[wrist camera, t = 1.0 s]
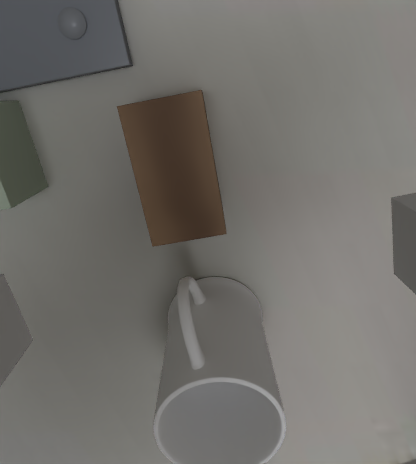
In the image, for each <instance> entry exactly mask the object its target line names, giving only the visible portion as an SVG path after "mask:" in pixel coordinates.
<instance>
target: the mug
mask: <svg viewBox="0 0 416 464" xmlns="http://www.w3.org/2000/svg"><path fill="white" fill-rule="evenodd" d="M262 322H263V315H262V309H261V306H260V303H259V301H258V299H257V297H256V296H255V295H254V293H253V292H252V291H251V290H250V289H249V288H247V287H246V286H245V285H243V284H241V283H240V282H238V281H235V280H232V279H229V278H224V277H207V278H202V279H199V280H196V281H195V279H194V278H192V277H190V276H187V277H184V278H182V279H181V280H180V281H179V283H178V287H177V294H176V296H175V297H174V299H173V300H172V302H171V304H170V307H169V311H168V334H167V341H166V347H165V353H164V360H163V366H162V373H161V379H160V385H159V392H158V398H157V404H156V411H155V417H154V427H153V428H154V437H155V440H156V443H157V445H158V447H159V449H160V450H161V452H162V453H163V454H164V455H165V456H166V458H167V459H169V460H170V461H171V462H172V463H174V464H264V463H266V462H267V461H268V460H270V459H271V458H272V457H273V456H274V455H275V454H276V452H277V451H278V450H279V448H280V447H281V445H282V443H283V440H284V437H285V433H286V418H285V414H284V409H283V405H282V401H281V397H280V393H279V389H278V385H277V381H276V377H275V373H274V369H273V365H272V361H271V357H270V353H269V349H268V345H267V341H266V337H265V333H264V329H263V324H262Z"/></svg>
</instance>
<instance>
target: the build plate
mask: <svg viewBox="0 0 416 464" xmlns="http://www.w3.org/2000/svg"><path fill="white" fill-rule="evenodd" d="M129 66H133V65H132V60H131V56H130V52H129V47H128V43H127V39H126V35H125V30H124V26H123V22H122V17H121V13H120V9H119V5H118V0H0V93H1V92H6V91H11V90H16V89H21V88H26V87H31V86H36V85H41V84H46V83H50V82H55V81H60V80H65V79H70V78H75V77H80V76H85V75H90V74H95V73H100V72H105V71H110V70H114V69H119V68H124V67H129Z"/></svg>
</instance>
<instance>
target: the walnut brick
mask: <svg viewBox="0 0 416 464" xmlns="http://www.w3.org/2000/svg"><path fill="white" fill-rule="evenodd" d="M117 108H118V112H119V116H120V120H121V124H122V128H123V132H124V136H125V140H126V144H127V148H128V152H129V156H130V160H131V164H132V167H133V171H134V175H135V179H136V183H137V187H138V191H139V195H140V199H141V203H142V207H143V211H144V215H145V219H146V223H147V227H148V230H149V234H150V238H151V242H152V246H159V245H165V244H171V243H177V242H182V241H188V240H194V239H200V238H206V237H211V236H217V235H223V234H227V233H226V227H225V220H224V214H223V207H222V201H221V196H220V190H219V184H218V179H217V173H216V167H215V161H214V156H213V150H212V144H211V139H210V133H209V127H208V121H207V116H206V110H205V104H204V99H203V93H202V90H199V91H193V92H188V93H183V94H178V95H173V96H168V97H163V98H158V99H152V100H147V101H142V102H137V103H132V104H127V105H122V106H117Z"/></svg>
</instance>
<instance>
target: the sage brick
mask: <svg viewBox="0 0 416 464" xmlns="http://www.w3.org/2000/svg"><path fill="white" fill-rule="evenodd" d="M47 187H48V185H47V182H46V179H45V176H44V173H43V170H42V167H41V164H40V161H39V158H38V155H37V152H36V149H35V147H34V144H33V141H32V138H31V135H30V132H29V129H28V126H27V123H26V120H25V117H24V114H23V112H22V109H21V106H20V103H19V101H0V210H5V209H10V208H13V207H14V206H16V205H18V204H19V203H21V202H23V201H25V200H26V199H28V198H30V197H31V196H33V195H35V194H36V193H38V192H40V191H42V190H43V189H45V188H47Z"/></svg>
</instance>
